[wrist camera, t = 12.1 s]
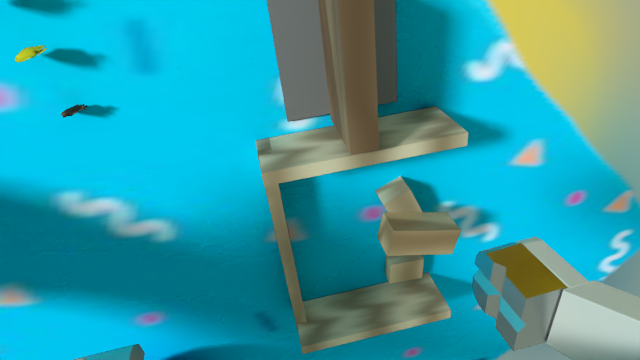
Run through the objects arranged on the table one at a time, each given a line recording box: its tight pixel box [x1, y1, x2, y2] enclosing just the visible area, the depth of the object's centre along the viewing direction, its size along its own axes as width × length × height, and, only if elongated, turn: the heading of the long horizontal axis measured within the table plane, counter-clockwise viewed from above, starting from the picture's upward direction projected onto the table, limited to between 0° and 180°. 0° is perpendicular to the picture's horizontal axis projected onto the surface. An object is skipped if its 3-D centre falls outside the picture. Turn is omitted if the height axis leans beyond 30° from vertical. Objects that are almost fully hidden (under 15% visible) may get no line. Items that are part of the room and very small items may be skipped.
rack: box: [256, 106, 468, 354], centre depth 40 cm, size 17×23×6 cm
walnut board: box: [318, 0, 379, 155], centre depth 29 cm, size 2×12×7 cm, turn 7°
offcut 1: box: [376, 176, 422, 213], centre depth 42 cm, size 3×8×3 cm, turn 30°
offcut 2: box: [377, 212, 461, 256], centre depth 39 cm, size 3×7×3 cm, turn 83°
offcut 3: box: [385, 255, 424, 284], centre depth 46 cm, size 4×3×2 cm
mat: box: [267, 0, 397, 121], centre depth 32 cm, size 10×11×1 cm
